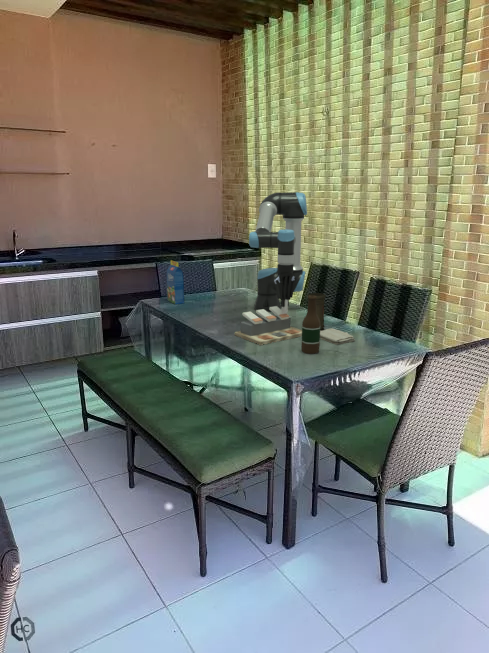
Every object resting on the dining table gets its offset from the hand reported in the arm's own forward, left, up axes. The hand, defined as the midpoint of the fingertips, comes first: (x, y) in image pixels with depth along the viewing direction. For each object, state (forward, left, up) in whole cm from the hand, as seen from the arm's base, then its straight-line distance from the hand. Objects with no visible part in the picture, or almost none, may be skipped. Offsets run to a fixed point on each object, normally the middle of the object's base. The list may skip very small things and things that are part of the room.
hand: (284, 312), depth 237 cm
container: (-14, +7, -10) cm, 18 cm away
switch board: (+8, 0, -10) cm, 13 cm away
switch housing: (+8, -4, -8) cm, 12 cm away
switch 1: (+16, -4, -2) cm, 17 cm away
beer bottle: (+10, +29, -10) cm, 32 cm away
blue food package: (+10, -90, -10) cm, 91 cm away
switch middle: (+8, -4, -2) cm, 10 cm away
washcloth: (-12, +21, -10) cm, 26 cm away
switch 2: (0, -4, -2) cm, 5 cm away
